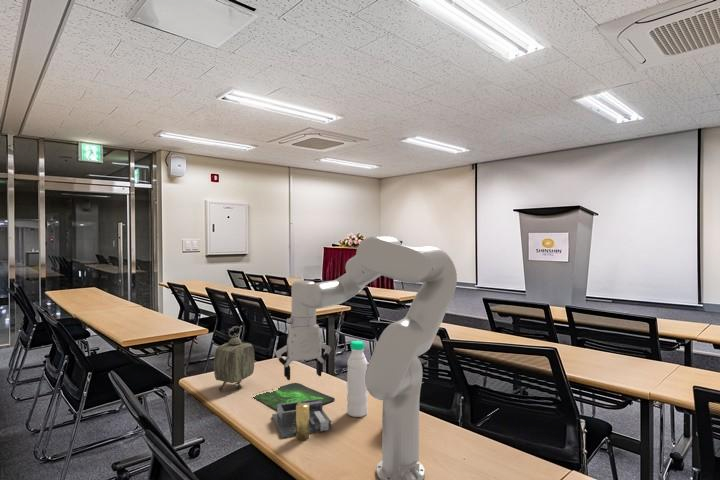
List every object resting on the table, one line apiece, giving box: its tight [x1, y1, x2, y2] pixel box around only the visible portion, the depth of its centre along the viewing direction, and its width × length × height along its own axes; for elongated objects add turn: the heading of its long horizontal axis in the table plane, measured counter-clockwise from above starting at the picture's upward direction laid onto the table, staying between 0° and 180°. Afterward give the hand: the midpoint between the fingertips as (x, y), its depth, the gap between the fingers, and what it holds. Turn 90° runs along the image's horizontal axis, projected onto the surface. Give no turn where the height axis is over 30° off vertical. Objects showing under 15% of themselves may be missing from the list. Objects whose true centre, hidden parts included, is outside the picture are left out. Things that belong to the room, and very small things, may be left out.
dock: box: [271, 399, 333, 439], centre depth 137 cm, size 16×16×5 cm
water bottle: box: [346, 340, 368, 418], centre depth 144 cm, size 7×7×25 cm
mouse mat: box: [252, 382, 336, 412], centre depth 158 cm, size 27×22×1 cm
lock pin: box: [314, 411, 330, 432], centre depth 133 cm, size 9×3×3 cm, turn 22°
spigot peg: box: [295, 403, 310, 442], centre depth 127 cm, size 4×4×10 cm
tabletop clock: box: [213, 325, 255, 392], centre depth 168 cm, size 14×9×25 cm, turn 154°
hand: (303, 376), depth 127 cm, fingers open, 9 cm apart
